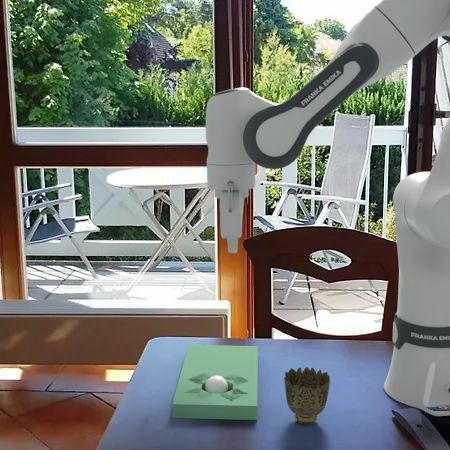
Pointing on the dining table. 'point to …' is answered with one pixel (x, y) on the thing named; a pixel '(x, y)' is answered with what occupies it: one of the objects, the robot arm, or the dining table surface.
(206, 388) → the ball
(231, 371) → the putting mat
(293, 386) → the cup
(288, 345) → the dining table surface
